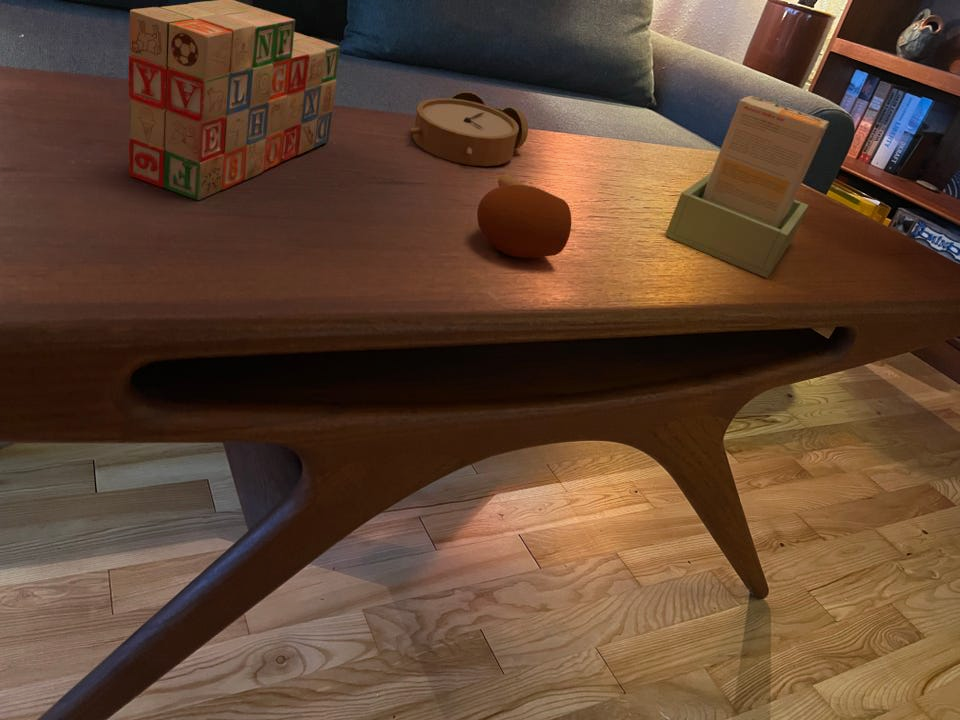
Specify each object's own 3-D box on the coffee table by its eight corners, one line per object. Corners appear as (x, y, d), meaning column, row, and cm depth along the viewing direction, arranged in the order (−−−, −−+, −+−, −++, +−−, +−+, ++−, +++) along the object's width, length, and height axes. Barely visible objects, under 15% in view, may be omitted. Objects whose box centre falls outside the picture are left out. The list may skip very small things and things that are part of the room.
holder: (790, 244, 85) (809, 204, 83) (766, 278, 74) (787, 234, 72) (699, 207, 88) (715, 169, 86) (664, 236, 77) (681, 192, 75)
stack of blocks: (273, 124, 78) (286, -8, 72) (329, 143, 77) (347, 12, 71) (127, 176, 60) (127, 5, 53) (198, 202, 59) (207, 32, 53)
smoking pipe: (476, 261, 62) (493, 193, 59) (454, 178, 77) (467, 120, 74) (561, 275, 63) (582, 209, 60) (523, 191, 79) (538, 135, 76)
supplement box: (774, 244, 82) (832, 121, 75) (765, 255, 78) (825, 127, 71) (701, 214, 84) (751, 93, 78) (688, 224, 81) (740, 97, 74)
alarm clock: (394, 111, 81) (466, 73, 92) (391, 154, 84) (460, 113, 95) (488, 148, 78) (551, 105, 89) (480, 191, 81) (542, 145, 92)
